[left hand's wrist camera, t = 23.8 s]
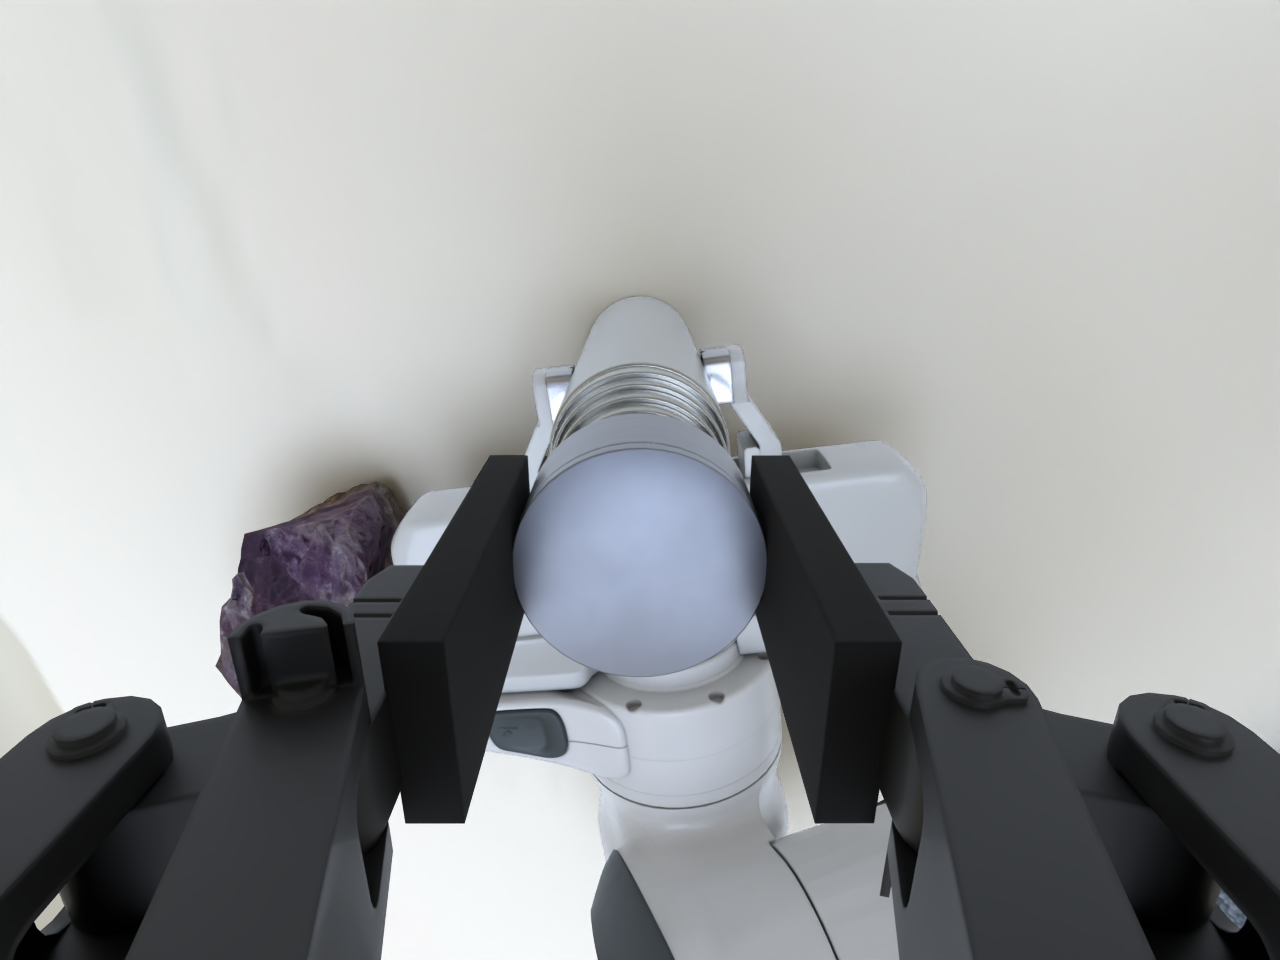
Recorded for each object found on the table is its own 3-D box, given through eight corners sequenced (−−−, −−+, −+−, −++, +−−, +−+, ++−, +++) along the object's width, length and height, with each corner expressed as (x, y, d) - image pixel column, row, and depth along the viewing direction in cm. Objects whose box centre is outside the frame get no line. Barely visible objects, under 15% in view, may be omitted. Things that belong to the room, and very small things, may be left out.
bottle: (709, 372, 33) (805, 602, 14) (616, 416, 33) (586, 693, 14) (664, 276, 31) (703, 383, 12) (569, 325, 32) (463, 498, 13)
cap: (615, 650, 16) (611, 717, 14) (483, 495, 14) (457, 542, 12) (792, 542, 15) (817, 597, 13) (668, 366, 13) (673, 394, 11)
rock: (428, 456, 35) (249, 523, 36) (355, 495, 27) (125, 582, 28) (518, 662, 37) (347, 720, 38) (477, 758, 29) (259, 829, 30)
